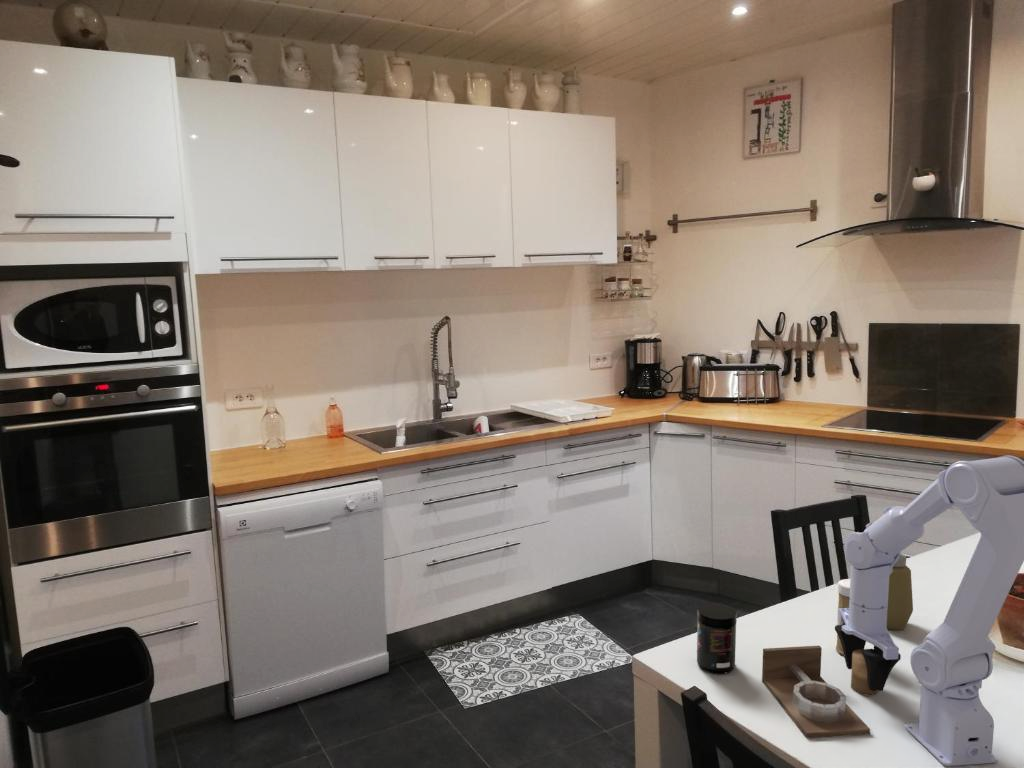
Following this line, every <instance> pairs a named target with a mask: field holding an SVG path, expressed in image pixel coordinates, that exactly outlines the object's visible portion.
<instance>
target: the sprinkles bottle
mask: <svg viewBox="0 0 1024 768" xmlns="http://www.w3.org/2000/svg"><path fill="white" fill-rule="evenodd" d="M837 585H838V586H837V592H838V605H837V606H838V607H837V622H836V625H842V623H844V621H841V620H840V619H839V608H849V600H850V578H845V579H840V580H839V581H838V583H837ZM835 650H836V652H837V653H838V654H840V655H842V656H844V652H843V648H842V644H841V641H840V639H839V636H838V634H837V633H836V646H835Z"/></svg>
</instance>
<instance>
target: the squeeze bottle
mask: <svg viewBox="0 0 1024 768" xmlns="http://www.w3.org/2000/svg"><path fill="white" fill-rule="evenodd" d="M912 584H913V583H912V570H911V569H910V567H908V565H907V556H906V555H905V554H903V553H901V552H900V555H899V559H898V561H897V562H896V563H895V564H894V565H893V569H892V573H891V575H890V576H889V590H888V609H887V627H886V628H887V630H897V631H898V630H899V631H900V630H903V629H905V628H906V627H907V625H908V623H909V620H910V618H911V616H912V614H913V612H914V602H913V601H914V600H913V586H912Z"/></svg>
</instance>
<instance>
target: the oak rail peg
mask: <svg viewBox="0 0 1024 768" xmlns="http://www.w3.org/2000/svg"><path fill="white" fill-rule="evenodd" d="M850 674H851V676H850V678H851V679H850V688H851V690H853V692H855V693H857V694H859V695H863V696H874V695H876V694H877V693H878V691H871V690H870V689H869V687H868V678H867V667H866V662H865V659H864V656H863V654H862V652H861V650H855V651H853V654H852V669H851V673H850Z"/></svg>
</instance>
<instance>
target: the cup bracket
mask: <svg viewBox="0 0 1024 768" xmlns="http://www.w3.org/2000/svg"><path fill="white" fill-rule="evenodd" d="M822 650H823V649H822V647H821V646H820V645H805V646H787V647H786V646H785V647H768V648H762V665H761V666H762V673H761V682H762V683H763V684H765V685H766V686H765V685H764V686H765V688H766V689H767V690H768V691H769V692H770V694H771V695H772V696H773V698H774V699H775V700H776V701H777V702H778V704H779V705H780V706H781V708H782V709H783V711H784V712H785V713H786V715H788V717H789V718H790V719H791V720H792V722H793V723H794V724H795V725H796V727H797V728H798V729H799V731H800V732H801V733H802V735H803V736H804V737H805V738H806V739H812V738H813V739H814V738H815V739H816V738H826V737H827V738H830V737H842V736H843V737H844V736H845V737H846V736H857V735H870V734H871V728H870V727H869V726H868V725H867V724H866V723H865V722H864V721H863V719H861V717H859V715H858V714H857V713H856V712H855V711H854V710H853V709H852V708H851V707H850V706H849V705H848V704H847V695H846V694H845V693H844V692H843V691H842V690H841V689H840V688H838V687H836V686H834V685H832V684H829V683H828V682H826V681H825V680H824V678H823V677H822V676H821V673H822V672H821V669H822Z"/></svg>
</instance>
